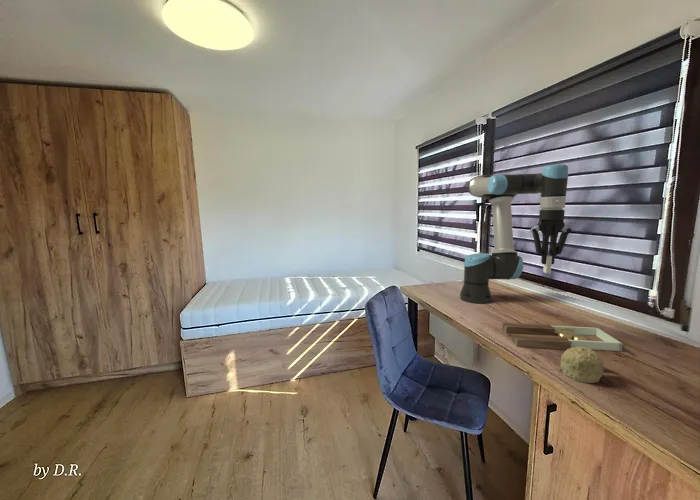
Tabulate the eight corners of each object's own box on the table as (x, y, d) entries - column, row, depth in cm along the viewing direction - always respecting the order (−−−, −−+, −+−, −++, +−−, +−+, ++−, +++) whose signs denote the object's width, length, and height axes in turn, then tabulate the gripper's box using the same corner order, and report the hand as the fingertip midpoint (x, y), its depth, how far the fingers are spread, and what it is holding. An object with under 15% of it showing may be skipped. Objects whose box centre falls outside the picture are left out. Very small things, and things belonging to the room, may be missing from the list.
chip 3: (573, 340, 103) (574, 333, 102) (588, 344, 100) (588, 337, 99) (570, 344, 100) (571, 337, 100) (585, 347, 97) (586, 340, 97)
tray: (550, 334, 109) (550, 325, 108) (596, 337, 106) (597, 327, 106) (568, 350, 97) (569, 340, 96) (621, 353, 94) (622, 343, 93)
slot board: (502, 331, 113) (502, 322, 112) (548, 333, 110) (549, 324, 109) (516, 349, 98) (517, 339, 98) (570, 352, 95) (571, 342, 95)
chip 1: (557, 336, 106) (558, 330, 105) (564, 334, 107) (565, 328, 107) (569, 341, 102) (570, 334, 102) (576, 339, 104) (577, 332, 103)
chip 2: (554, 337, 104) (555, 330, 104) (566, 338, 104) (567, 331, 104) (562, 342, 100) (563, 335, 100) (574, 343, 100) (575, 336, 100)
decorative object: (571, 393, 80) (598, 375, 74) (545, 359, 88) (568, 340, 82) (594, 389, 83) (622, 371, 77) (567, 356, 91) (590, 338, 85)
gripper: (536, 209, 105) (531, 274, 108) (578, 208, 102) (571, 275, 106) (528, 209, 112) (524, 269, 116) (567, 208, 109) (561, 270, 113)
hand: (546, 272), depth 111 cm, fingers closed
